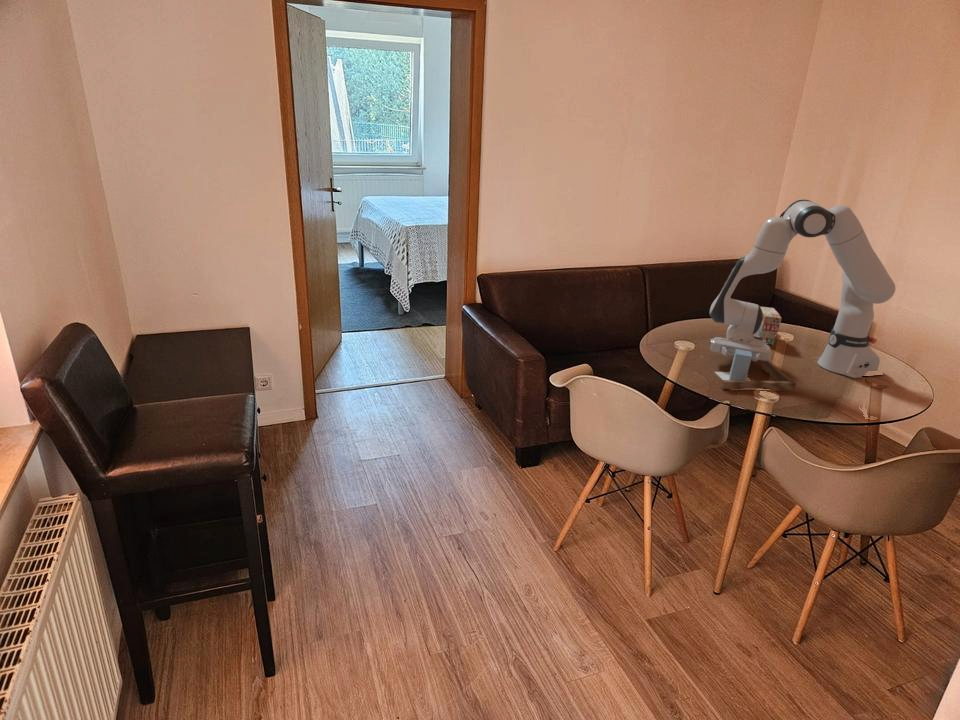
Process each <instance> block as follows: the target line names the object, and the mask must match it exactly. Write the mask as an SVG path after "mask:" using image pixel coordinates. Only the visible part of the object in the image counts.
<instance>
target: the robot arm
mask: <svg viewBox="0 0 960 720" xmlns="http://www.w3.org/2000/svg"><path fill="white" fill-rule="evenodd" d="M797 235H800V236H801V237H804V238H816V237H820V236H823V235H824V236H825V239H826V240H827V242H828V245H829V247H830V250H831V251H832V253H833V256H834V258H835V259H836V261H837V263H838V265H839V267H841V269H842V273H841V280H842V288H841V293H840V294H841V296H840V305H839V310H838V313H837V317H836V319H835V324H834V326H833V328H831V331H830V334H829V337H828V342H827V344H826V347H825V349H824V351H823V352H822V354H821V355H820V357H819V359H818V360H817V364H818V365H819V366H820V367H821V368H823V369H825V370H827V371H830V372H832V373H835V374H840V375H842V376H846V377H849V378H853V379H857V378H863V377H862V376H864V375H866V374H865V373H867V372H868V371H877V370H878V367H879V368H880V362H881V361H880V360H881V359H880V356H879V354H877V353H876V352H875V350H874V349H872V348H871V346H870V343H871V344H873V345H874V344H876V343H877V341H878V340H877V338H875V337H872V336H869V332H870V329H871V326H872V323H873V321H874V318H875V312H874V304H876V305H877V304H879V305H880V304H883V303H886V302H888V301H889V300H891V298H892V297H893V296H894V294H895V292H896V284H895V281H894V280H893V279H892V277H891V276H890V273H888V271H887V269H886V267H885V265H884V264H883V262H882V261H881V260H880V258H879V257H878V255H877V253H876V251H875V250H874V249H873V247H872V245H871V243H870V241H869V239H868V236H867V234H866V231H864V228H863V225H862V224H861V222H860V220H859V218H858V217H857V215H856V214H855V213H854V211H853V210H852V209H851V208H850V207H849V206H847V205H843V204H842V205H834V206H833V207H831V208H828V209H826V208H824V207H823V206H821V205H820V204H818V203H817V202H813V201H812V200H809V199H798V200H796V201H795V200H794V201H793V202H792V203H790V204H789V206H787V208H786V209H785V210H784V211H783V212H781V214H780V216H779V217H778V216H774V217H770V218H767V219H766V220H765V221H764V222H763V224H762V226H761V227H760V230H759V231H758V234H757V235H756V238H755V241H754V244H753V247H752V248H751V250H750V251H749V253H747V254H746V255H745V256H742V257H740V258H739V259H738V260H737V261H736V263H734V266H733V267H732V269H731V271H730V273H729V275H728V276H727V279H726V280H725V282H724V284H723V286H722V287H721V289H720V291H719V293H718V294H717V296H716V298H715V299H714V300H713V302H712V303H711V305H710V308H709V317H710V318H711V319H712V320H713V322H715V323H718V324H727V325H729V326H728V327H727V329H726V334H725V337H720V336H716V337H713V338H710V339H709V342H710V343H711V345H710V351H711V352H713V353H719V354H720V353H721V354H723V355H724V356H725V357H729V356H730V355H731V356H734V354H735V351H736V349H739V350H745V351H750V352H751V353H752V359H751V361H752V362H758V361H762V362H763V361H769V362H770V359H771V355H772V350H771V347H770V345H767V344H766V340H765V339H762V338H758V337H755V336H753V334H755V333H756V332H757V331H758V330H759V328H760V326H761V323H762V318H763V312H762V309H761V307H762V306H760V305H759V304H756V303H752V302H749V301H743V300H740V299H739V300H738V299H734V298H731V296H732V294H733V293H734V291H735V289H736V288H737V285H738V284H739V283H740V281H741V280H742V279H744V278H746V277H748V276H753V275H761V274H767V273H771V272H773V271H775V270H776V269H778V268H779V267H780V266H781V265H782V262H783V261H784V259H785V256H786V254H787V251H788V248H789V245H790V243H791V242H792V240H793V238H795V237H796V236H797Z"/></svg>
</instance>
